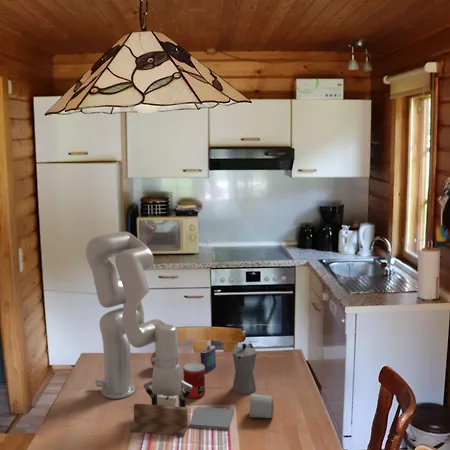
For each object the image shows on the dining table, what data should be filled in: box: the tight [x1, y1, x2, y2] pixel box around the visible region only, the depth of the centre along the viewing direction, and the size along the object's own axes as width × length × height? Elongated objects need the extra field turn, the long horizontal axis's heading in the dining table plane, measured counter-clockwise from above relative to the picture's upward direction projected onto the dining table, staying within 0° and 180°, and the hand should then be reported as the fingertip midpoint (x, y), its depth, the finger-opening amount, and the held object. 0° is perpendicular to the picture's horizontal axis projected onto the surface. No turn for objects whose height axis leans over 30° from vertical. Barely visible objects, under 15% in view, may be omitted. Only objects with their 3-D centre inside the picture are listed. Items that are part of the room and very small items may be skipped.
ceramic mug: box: [249, 393, 275, 419], centre depth 188 cm, size 11×8×8 cm
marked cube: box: [157, 395, 180, 407], centre depth 189 cm, size 6×6×6 cm
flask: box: [200, 344, 217, 375], centre depth 224 cm, size 9×3×11 cm, turn 147°
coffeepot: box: [232, 342, 257, 395], centre depth 207 cm, size 15×9×18 cm, turn 159°
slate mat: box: [189, 406, 235, 431], centre depth 185 cm, size 13×12×1 cm
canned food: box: [182, 362, 206, 400], centre depth 203 cm, size 8×8×11 cm
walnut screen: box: [129, 403, 189, 437], centre depth 179 cm, size 18×6×7 cm, turn 80°
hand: (168, 408), depth 189 cm, fingers open, 9 cm apart
